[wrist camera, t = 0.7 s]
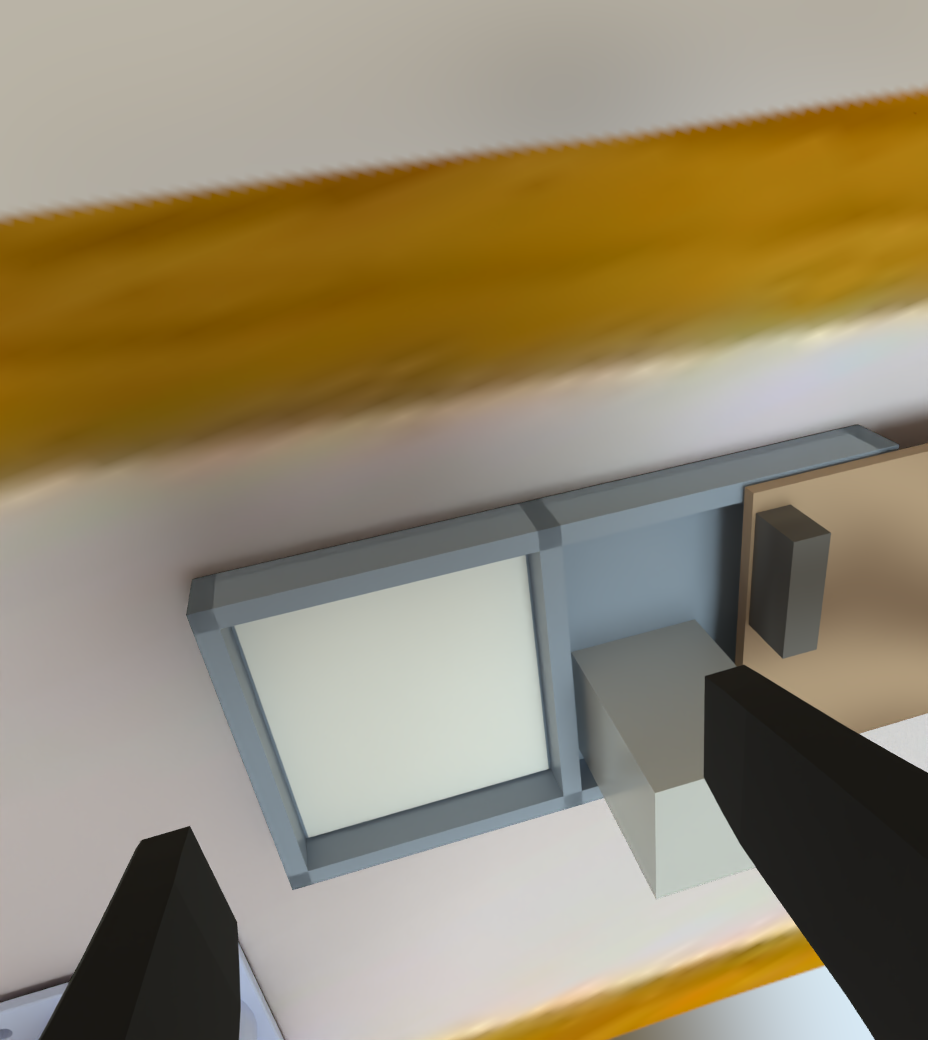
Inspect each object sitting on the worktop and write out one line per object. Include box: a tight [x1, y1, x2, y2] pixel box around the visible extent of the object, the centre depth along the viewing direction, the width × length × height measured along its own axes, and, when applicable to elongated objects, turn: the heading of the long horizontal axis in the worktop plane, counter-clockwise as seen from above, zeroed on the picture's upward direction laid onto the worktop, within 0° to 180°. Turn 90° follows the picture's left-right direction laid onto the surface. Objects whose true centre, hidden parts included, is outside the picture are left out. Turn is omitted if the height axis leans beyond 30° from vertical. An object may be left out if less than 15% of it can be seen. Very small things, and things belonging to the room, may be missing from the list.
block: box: [571, 619, 756, 899], centre depth 21 cm, size 4×4×6 cm
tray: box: [186, 425, 899, 890], centre depth 22 cm, size 10×19×2 cm, turn 98°
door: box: [735, 443, 928, 734], centre depth 21 cm, size 10×9×2 cm
